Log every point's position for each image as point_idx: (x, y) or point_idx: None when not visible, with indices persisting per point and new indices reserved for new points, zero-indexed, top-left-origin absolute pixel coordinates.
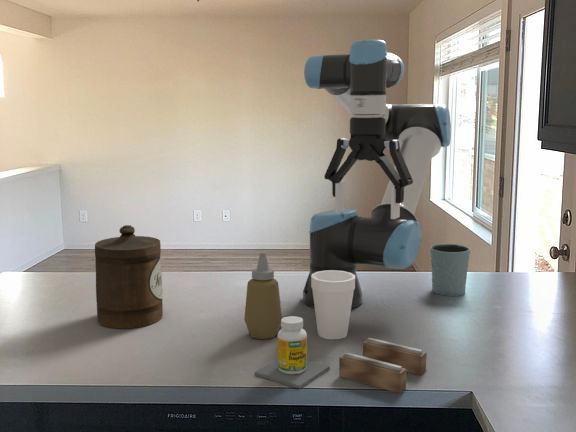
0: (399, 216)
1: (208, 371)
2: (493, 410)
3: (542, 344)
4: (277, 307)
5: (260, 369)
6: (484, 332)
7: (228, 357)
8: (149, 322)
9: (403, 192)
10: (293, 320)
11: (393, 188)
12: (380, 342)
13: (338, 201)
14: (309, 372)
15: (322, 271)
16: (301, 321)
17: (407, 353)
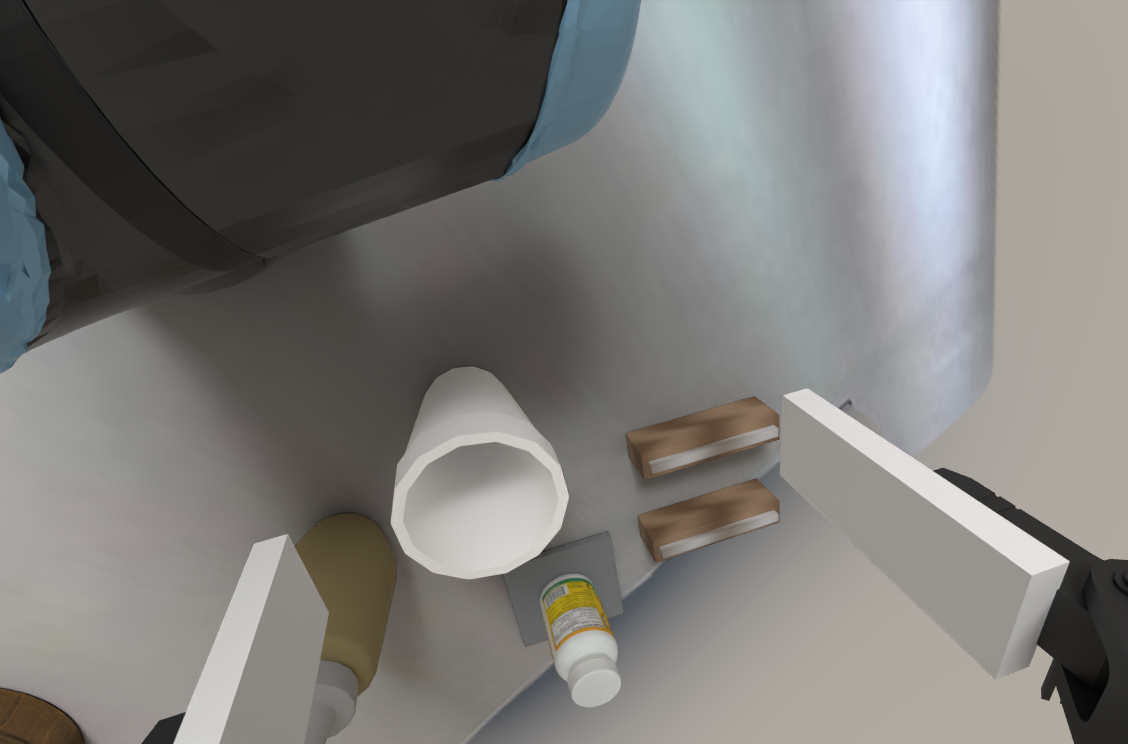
0: (810, 393)
1: (452, 693)
2: (893, 428)
3: (933, 19)
4: (386, 589)
5: (524, 635)
6: (781, 45)
7: (418, 648)
8: (74, 733)
9: (1049, 535)
10: (602, 688)
11: (1018, 670)
12: (685, 463)
13: (307, 704)
14: (600, 577)
15: (401, 504)
16: (619, 678)
17: (749, 448)
